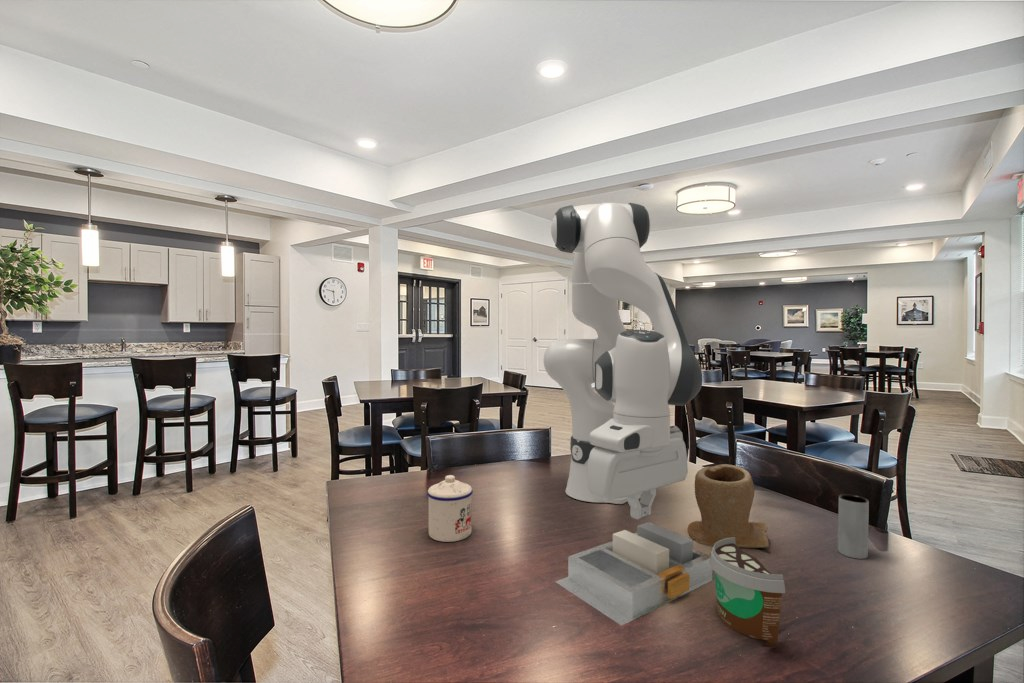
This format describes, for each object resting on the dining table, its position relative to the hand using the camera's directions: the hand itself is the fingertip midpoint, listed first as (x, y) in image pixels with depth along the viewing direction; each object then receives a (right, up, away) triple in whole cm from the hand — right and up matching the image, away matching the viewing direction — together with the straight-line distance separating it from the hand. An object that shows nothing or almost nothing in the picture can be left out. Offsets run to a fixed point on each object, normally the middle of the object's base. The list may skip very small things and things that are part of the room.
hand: (640, 516), depth 78 cm
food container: (+10, -12, -11) cm, 19 cm away
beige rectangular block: (0, -10, 0) cm, 10 cm away
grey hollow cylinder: (+42, -11, +11) cm, 45 cm away
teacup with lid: (-33, -11, +21) cm, 41 cm away
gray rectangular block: (+5, -10, +4) cm, 12 cm away
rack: (0, -11, 0) cm, 11 cm away
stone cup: (+21, -11, +15) cm, 28 cm away
